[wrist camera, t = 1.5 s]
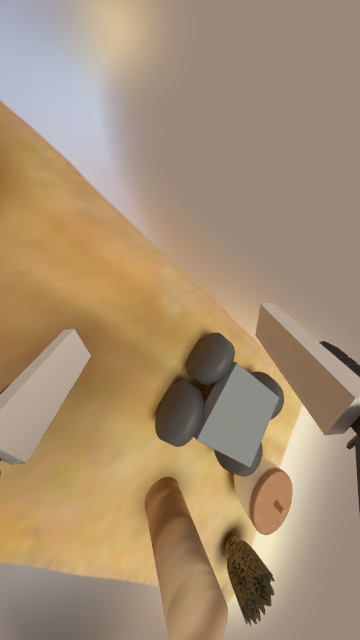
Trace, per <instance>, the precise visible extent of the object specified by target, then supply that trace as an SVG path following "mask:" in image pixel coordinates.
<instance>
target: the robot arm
mask: <svg viewBox="0 0 360 640" xmlns="http://www.w3.org/2000/svg"><path fill="white" fill-rule="evenodd" d="M256 337H257V338H258V340H259V341H260V343H261V344H262V346H263V347H264V349H265V350H266V351H267V353H268V354H269V356H270V357H271V359H272V360H273V361H274V363H275V364H276V366H277V367H278V369H279V370H280V372H281V373H282V374H283V376H284V377H285V379H286V380H287V382H288V383H289V385H290V386H291V387H292V389H293V390H294V392H295V393H296V395H297V396H298V398H299V399H300V400H301V402H302V403H303V405H304V406H305V407H306V409H307V410H308V412H309V413H310V415H311V416H312V418H313V419H314V421H315V422H316V423H317V425H318V426H319V428H320V429H321V431H322V432H323V433H324V435H332V434H343V433H345V432H346V431H347V430H348V429H349V428H350V427H352V429H353V430H354V431H355V432H356V433H357V435H356V436H355V437H354V438H353V439H352V440H350V441H349V442H348V444H347V448H348V449H351V448H353V447H354V446H355V448H356V463H357V480H358V495H359V511H360V365H357V363H356V362H355V361H354V360H352V359H351V358H349V357H348V355H346V354H345V353H344V352H342V351H341V350H340V349H339V348H337V347H335V346H333V345H331V344H329V343H327V342H325V341H323V342H318V341H317V340H315V339H314V338H313V337H312V336H311V335H310V334H308V333H307V332H306V331H305V330H304V329H302V327H300V326H299V325H298V324H297V323H296V322H294V321H293V320H292V319H291V318H290V317H289V316H288V315H286V314H285V313H284V312H283V311H282V310H280V309H279V308H278V307H277V306H276V305H275V304H273V303H272V302H270V303H263V304H261V305H260V310H259V317H258V323H257V329H256ZM90 357H91V355H90V353H89V352H88V350H87V348H86V347H85V345H84V344H83V342H82V340H81V339H80V337H79V336H78V334H77V332H76V331H75V329H68V330H63V331H62V332H61V333H60V334H59V336H58V337H57V338H56V339H55V340H54V341H53V342H52V343H51V344H50V345H49V346H48V347H47V348H46V349H45V350H44V351H43V352H42V353H41V354H40V355H39V356H38V357H37V358H36V359H35V360H34V361H33V362H32V363H31V364H30V365H29V366H28V367H27V368H26V369H25V370H24V371H23V372H22V373H21V374H20V375H19V376H18V377H17V378H16V379H15V380H14V381H13V382H12V383H11V384H10V385H8V386H7V387H6V388H5V389H4V390H3V391H2V392H1V393H0V461H1V460H2V461H5V462H7V463H9V464H21V463H27V462H28V460H29V458H30V457H31V455H32V453H33V452H34V450H35V448H36V447H37V445H38V443H39V442H40V440H41V438H42V437H43V435H44V433H45V432H46V430H47V429H48V427H49V425H50V424H51V422H52V420H53V419H54V417H55V415H56V414H57V412H58V410H59V409H60V407H61V405H62V404H63V402H64V400H65V399H66V397H67V395H68V394H69V392H70V390H71V389H72V387H73V385H74V384H75V382H76V380H77V379H78V377H79V375H80V374H81V372H82V370H83V369H84V367H85V365H86V364H87V362H88V360H89V359H90ZM0 473H1V472H0Z"/></svg>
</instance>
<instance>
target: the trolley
mask: <svg viewBox="0 0 360 640" xmlns="http://www.w3.org/2000/svg"><path fill="white" fill-rule="evenodd" d="M234 355H235V351H234V347H233V345H232V343H231V342H230V341H228V340H227V339H226V338H225V337H224V336H223V335H221V334H220V333H211V334H209V335H207V336H205V337H204V338H202V339H201V340H200V341H199V342H198V343H197V344H196V345H195V347H194V348H193V350H192V351H191V353H190V355H189V358H188V362H187V371H188V374H189V375H190V376H191V377H193V378H194V379H196V380H197V381H199V382H200V383H202V384H204V385H210V384H214V383H215V385H214V387H213V389H212V391H211V393H210V395H209V396H208V398H207V400H206V402H205V404H204V399H203V395H202V393H201V391H200V390H199V389H198V388H197V387H195V386H194V385H192V384H191V383H189V382H188V381H186V380H180V381H178V382H176V383H175V384H173V385H172V386H171V387H170V388H169V389H168V391H167V392H166V394H165V395H164V397H163V399H162V401H161V403H160V405H159V408H158V411H157V415H156V421H155V429H156V433H157V436H158V437H159V439H161V440H163V441H165V442H167V443H169V444H171V445H173V446H176V447H180V446H183V445H185V444H187V443H188V442H189V441H190V440H191V439H192V438H193V437H195V438H196V440H197V441H199V442H201V443H203V444H205V445H207V446H209V447H211V448H213V449H214V451H215V455H216V457H217V460H218V462H219V463H220V465H221V466H222V467H223V468H224V469H225V470H227V471H229V472H231V473H233V474H235V475H238V476H242V477H246V476H249V475H251V474H252V473H254V472H255V471H256V469H257V468H258V466H259V464H260V461H261V457H262V443H261V440H262V438H263V436H264V433H265V431H266V428H267V426H268V424H269V421H270V420H271V419H273V418H275V417H276V416H277V415H278V414H279V413H280V411H281V409H282V407H283V403H284V395H283V391H282V389H281V387H280V385H279V384H278V383H277V382H276V381H275V380H273V379H272V378H271V377H270V376H269V375H267V374H266V373H263V372H252V373H249V372H247V371H246V370H245V369H244V368H243V367H241V366H240V365H239V364H238V363H236V362H233V360H234Z"/></svg>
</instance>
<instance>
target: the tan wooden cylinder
mask: <svg viewBox="0 0 360 640" xmlns="http://www.w3.org/2000/svg"><path fill="white" fill-rule="evenodd" d="M145 508H146V514H147V519H148V525H149V531H150V536H151V542H152V547H153V553H154V558H155V564H156V570H157V575H158V581H159V586H160V591H161V597H162V602H163V609H164V614H165V620H166V625H167V631H168V636H169V640H221V639H222V636H223V634H224V631H225V627H226V623H227V617H228V608H227V604H226V601H225V599H224V596H223V594H222V591H221V589H220V586H219V584H218V581H217V579H216V576H215V574H214V572H213V569H212V567H211V564H210V562H209V559H208V557H207V554H206V552H205V549H204V547H203V545H202V542H201V540H200V537H199V535H198V532H197V530H196V527H195V525H194V522H193V520H192V518H191V515H190V513H189V510H188V508H187V505H186V503H185V500H184V498H183V495H182V493H181V491H180V488H179V486H178V483H177V481H176V480H175V479H173V478H171V477H166V478H163V479H161V480H159V481H157V482H156V483H155V484H154V485H153V486H152V487H151V489H150V490H149V492H148V494H147V496H146V500H145Z"/></svg>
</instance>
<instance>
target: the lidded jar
mask: <svg viewBox="0 0 360 640" xmlns="http://www.w3.org/2000/svg"><path fill="white" fill-rule="evenodd" d="M233 476H234V485H235V490H236V494H237V497H238V499H239V501H240V503H241V505H242V507H243V509H244V511H245V512H246V514H247V515H248V517H249V518H250V520H251V521H252V523H253V525H254V526H255V528H256V529H257V531H258V532H259V533H261V534H263V535H269V534H271V533H273V532H275V531H276V530H277V529H278V528H279V527H280V526H281V525H282V523H283V522H284V520H285V518H286V516H287V514H288V512H289V508H290V505H291V500H292V483H291V480H290V478H289V476H288V475H287V474H286V473H285V472H284V471H282V470H281V469H280V468H278V467H277V466H276V465H275V464H274V463H272V462H271V461H269V460H268V459H266V458H265V457H263V456H262V457H261V461H260V464H259V466H258V468H257V469H256V471H255V472H254V473H252V474H251V475H249V476H246V477H242V476H238V475H235V474H233Z"/></svg>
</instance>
